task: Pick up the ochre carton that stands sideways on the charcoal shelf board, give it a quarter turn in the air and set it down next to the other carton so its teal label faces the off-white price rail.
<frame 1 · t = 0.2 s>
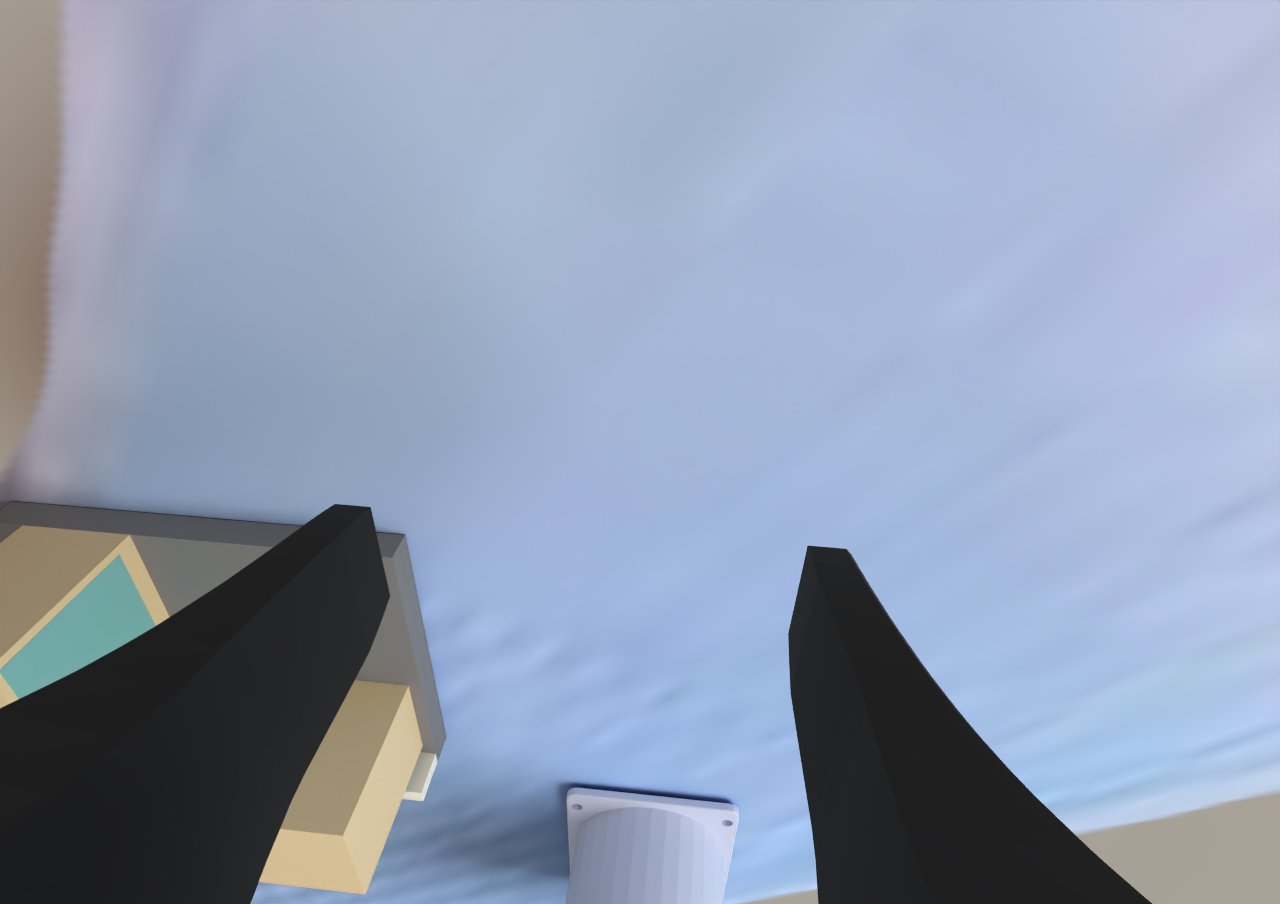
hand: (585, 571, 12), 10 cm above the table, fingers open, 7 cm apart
carton: (108, 590, 27), point 1 cm above the table, touching shelf
carton faced: (345, 709, 30), point 1 cm above the table, touching shelf
shelf: (249, 631, 29), on the table
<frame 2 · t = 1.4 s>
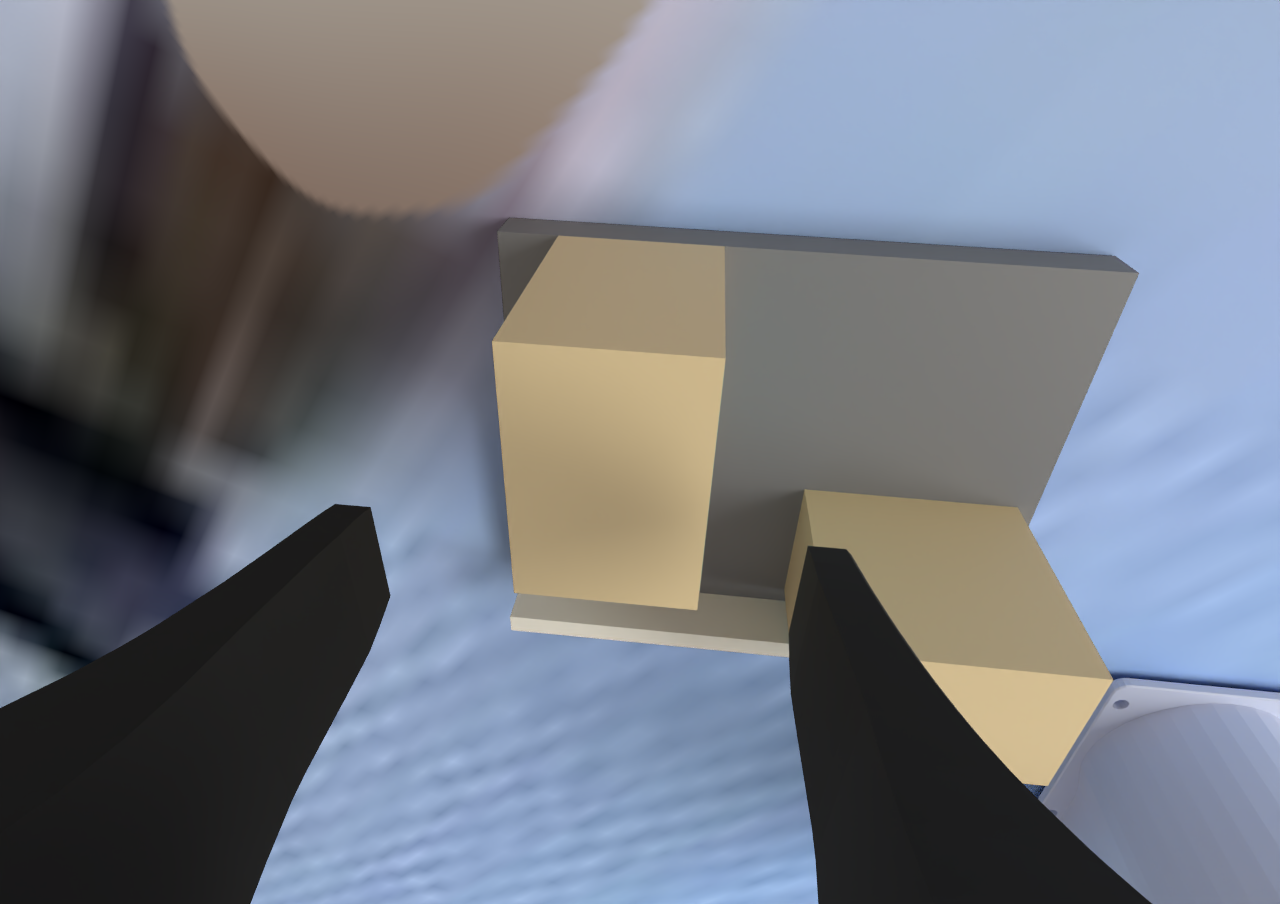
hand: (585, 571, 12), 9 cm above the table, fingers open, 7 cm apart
carton: (636, 354, 19), point 1 cm above the table, touching shelf
carton faced: (893, 550, 22), point 1 cm above the table, touching shelf
shelf: (771, 438, 21), on the table
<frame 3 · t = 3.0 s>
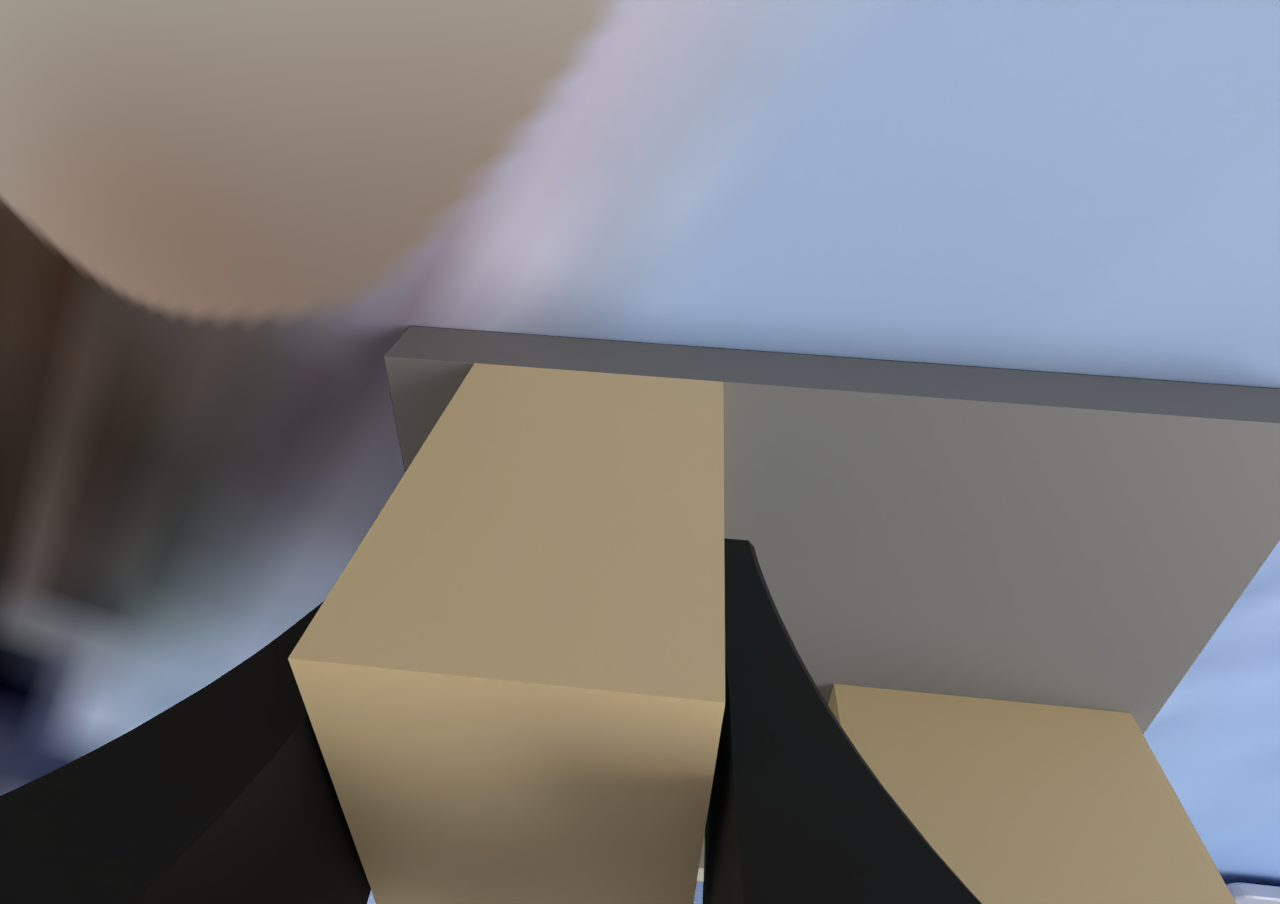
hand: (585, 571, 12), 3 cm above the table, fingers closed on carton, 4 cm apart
carton: (597, 518, 13), point 1 cm above the table, touching gripper, shelf
carton faced: (953, 755, 16), point 1 cm above the table, touching shelf
shelf: (787, 606, 16), on the table
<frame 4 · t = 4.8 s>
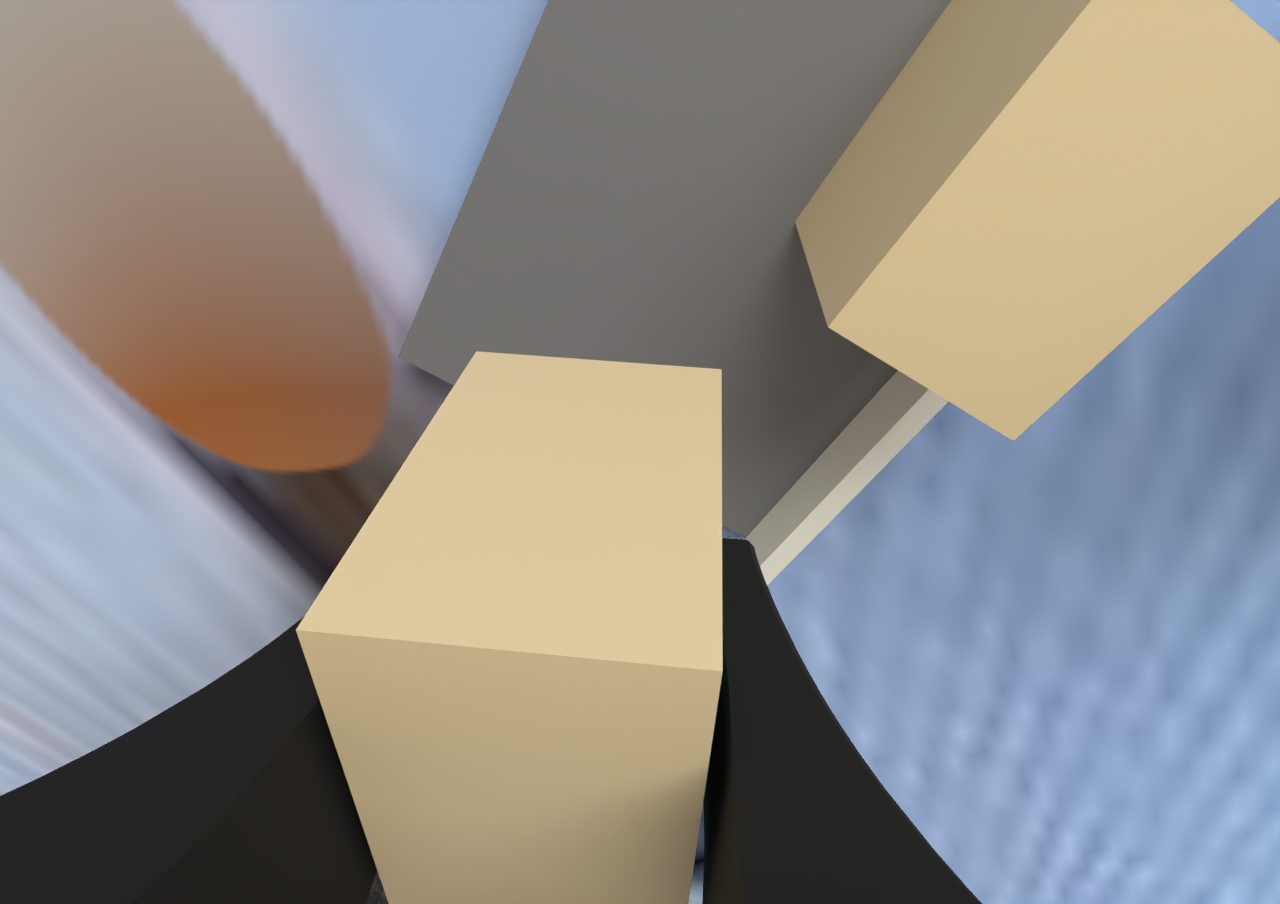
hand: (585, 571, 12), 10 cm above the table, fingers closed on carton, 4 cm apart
carton: (597, 506, 13), point 8 cm above the table, touching gripper
carton faced: (955, 150, 15), point 1 cm above the table, touching shelf
planter: (283, 861, 40), on the table
shelf: (736, 223, 18), on the table
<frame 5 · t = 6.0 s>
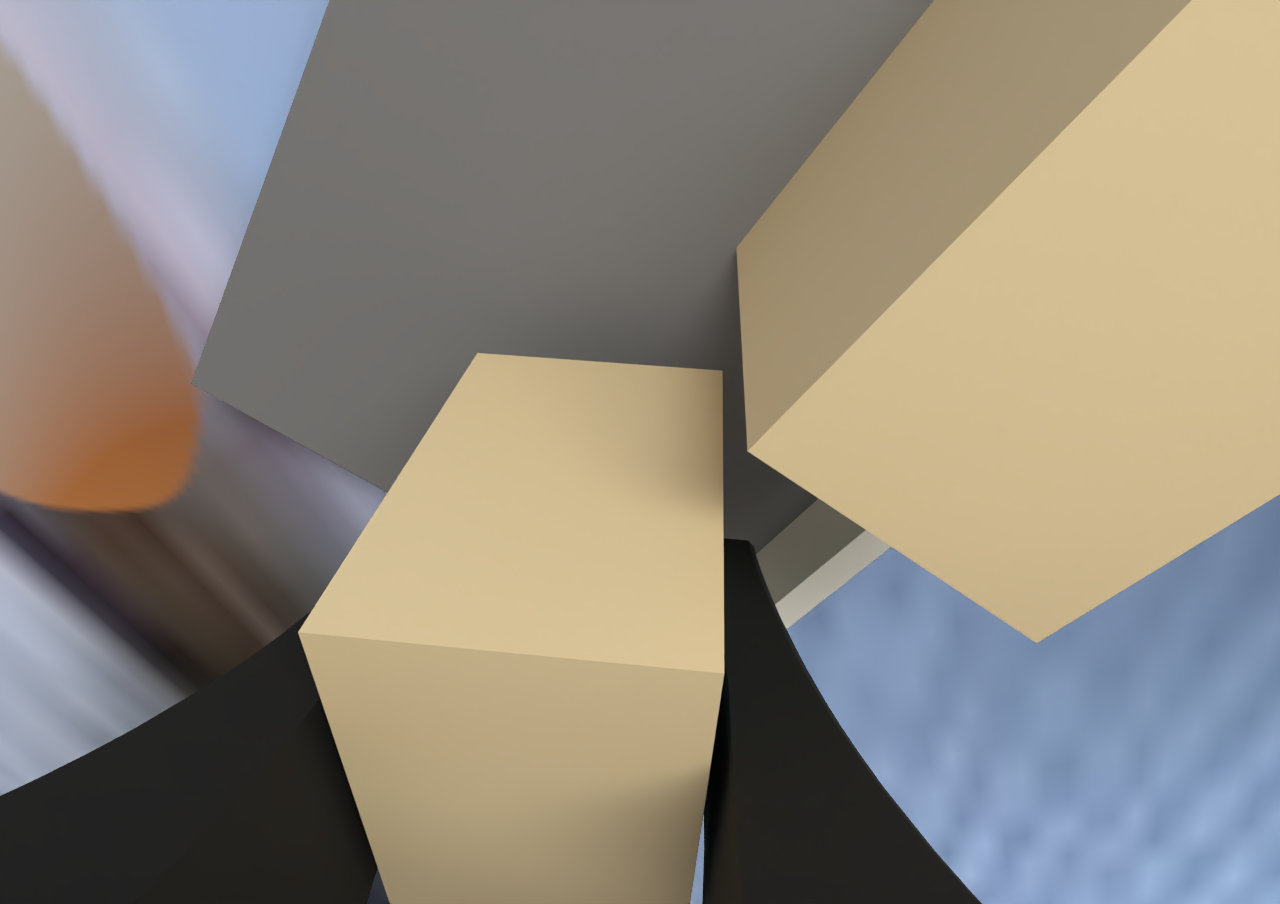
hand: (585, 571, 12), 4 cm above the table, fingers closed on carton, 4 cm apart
carton: (598, 507, 13), point 3 cm above the table, touching gripper
carton faced: (969, 166, 11), point 1 cm above the table, touching shelf
shelf: (661, 241, 13), on the table
when the fingers open (4 cm above the table, at t = 6.8 s): carton drops 1 cm, resting on shelf.
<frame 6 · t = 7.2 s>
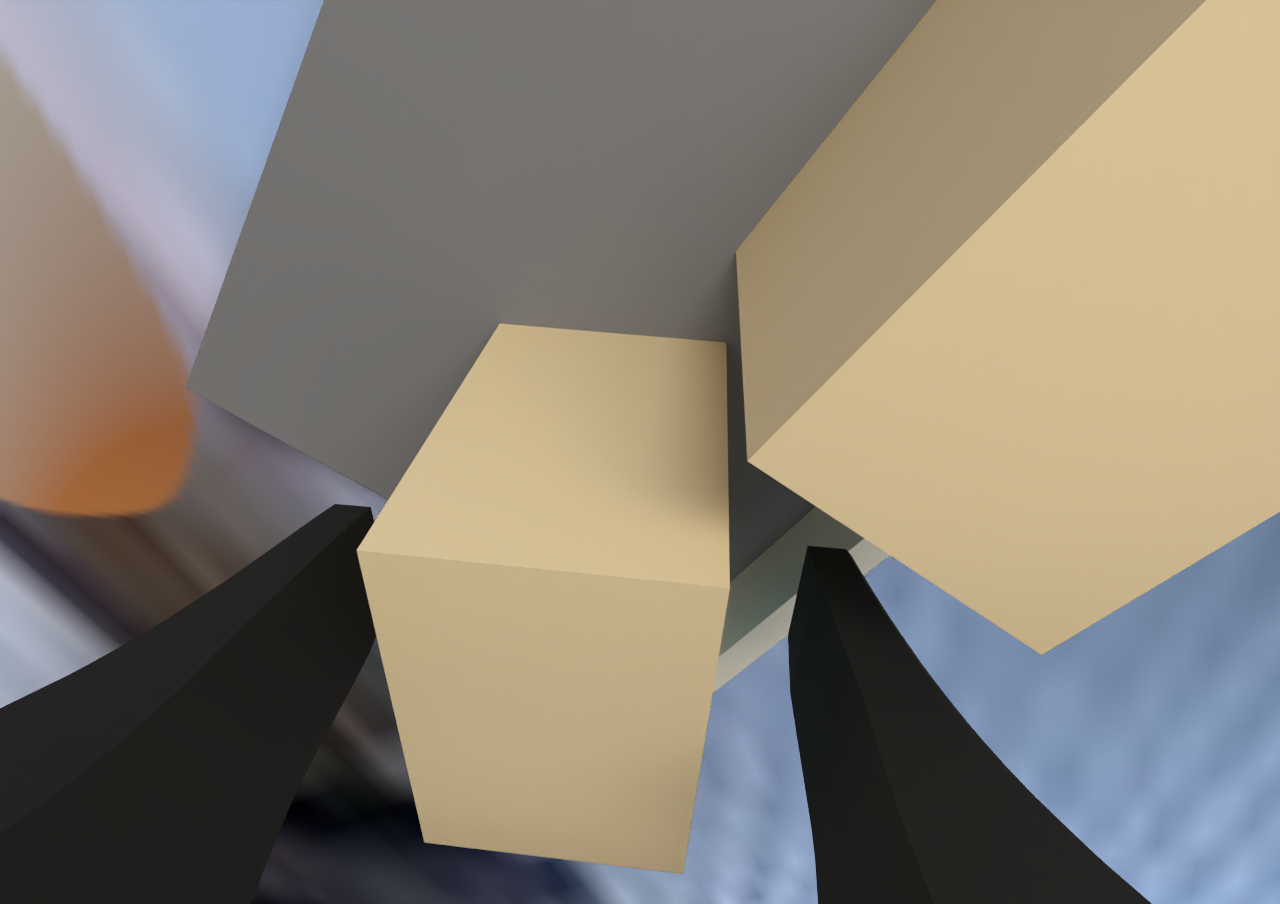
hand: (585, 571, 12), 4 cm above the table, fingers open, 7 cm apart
carton: (608, 471, 14), point 1 cm above the table, touching shelf
carton faced: (971, 169, 11), point 1 cm above the table, touching shelf
shelf: (659, 244, 13), on the table
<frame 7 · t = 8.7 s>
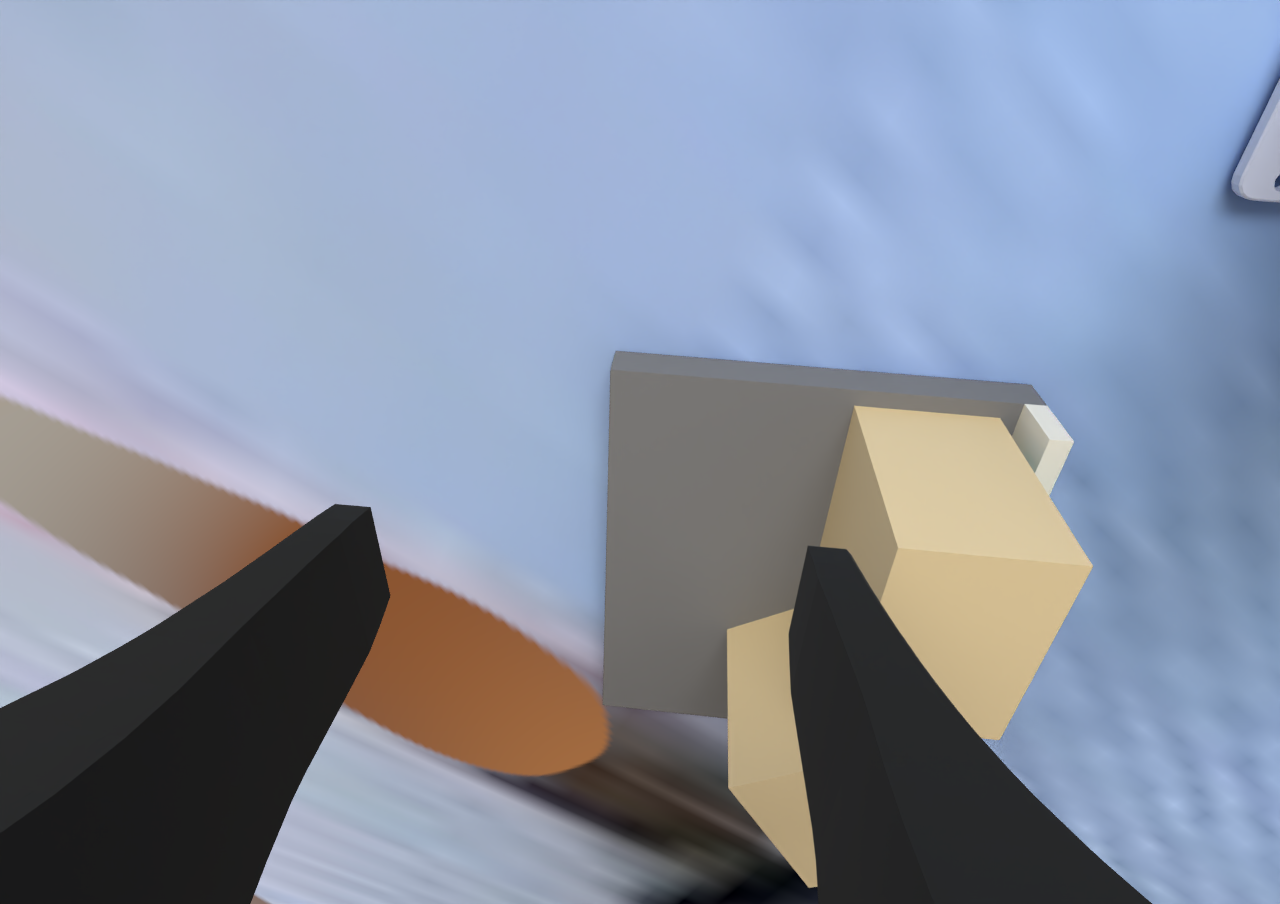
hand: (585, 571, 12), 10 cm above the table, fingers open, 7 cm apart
carton: (812, 666, 26), point 1 cm above the table, touching shelf
carton faced: (900, 497, 22), point 1 cm above the table, touching shelf
shelf: (780, 559, 25), on the table
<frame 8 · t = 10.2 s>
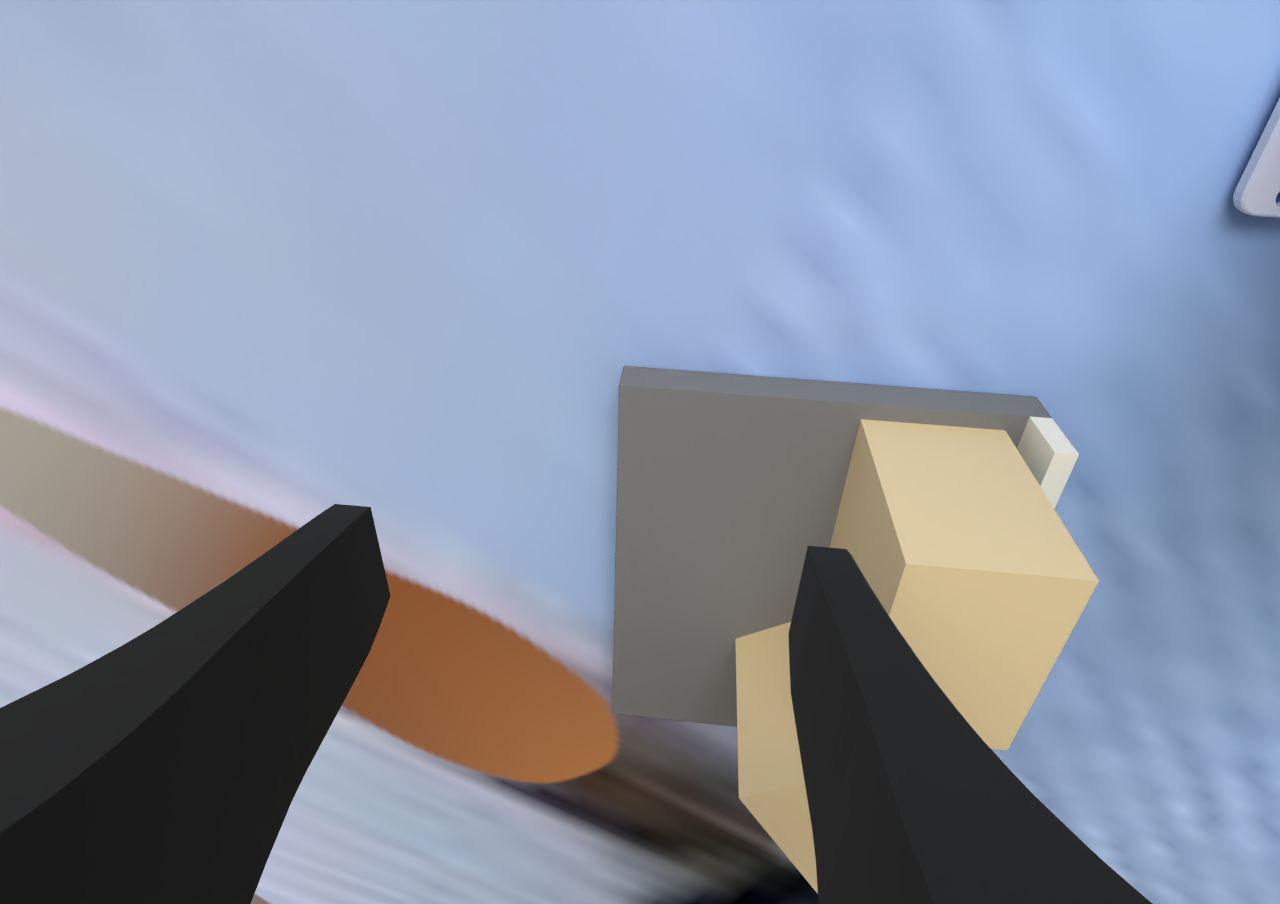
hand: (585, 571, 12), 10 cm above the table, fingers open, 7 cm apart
carton: (820, 674, 26), point 1 cm above the table, touching shelf
carton faced: (906, 508, 22), point 1 cm above the table, touching shelf
shelf: (788, 569, 25), on the table
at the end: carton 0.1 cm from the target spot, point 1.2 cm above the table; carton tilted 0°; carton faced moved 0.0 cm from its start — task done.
